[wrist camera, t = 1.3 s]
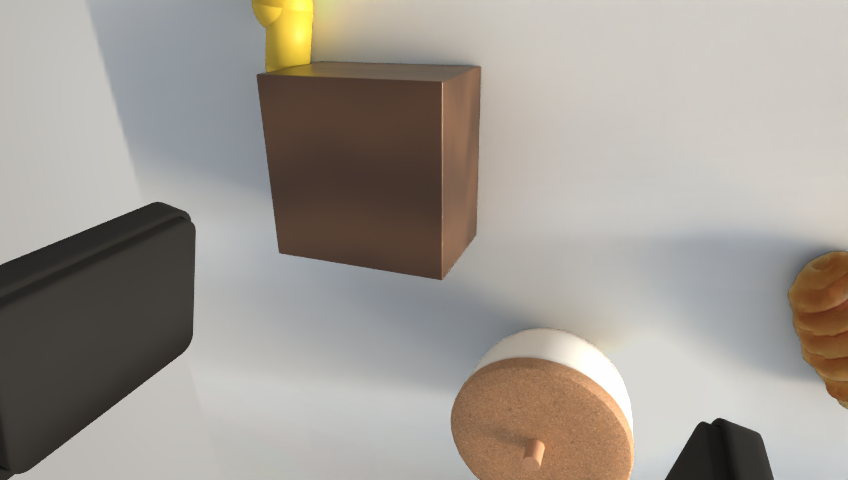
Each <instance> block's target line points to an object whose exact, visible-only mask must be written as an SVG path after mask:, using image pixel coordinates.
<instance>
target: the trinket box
mask: <svg viewBox="0 0 848 480" xmlns="http://www.w3.org/2000/svg"><path fill="white" fill-rule="evenodd" d="M451 430H452V435H453V438H454V442H455V444H456V447H457V449H458V452H459V454H460V455H461V457H462V459H463V460H464V462H465V463H466V465H467V466H468V467H469V469H470V470H471V471H472V472H473V474H474V475H475V476H476V477H477V478H479V479H480V480H628V479H629V477H630V474H631V471H632V468H633V457H634V443H633V422H632V414H631V407H630V401H629V398H628V394H627V391H626V388H625V385H624V382H623V380H622V378H621V376H620V375H619V373H618V371H617V369H616V368H615V366H614V365H613V364H612V362H611V361H610V360H609V359H608V357H607V356H606V355H605V354H604V353H603V352H602V351H601V350H599V349H598V348H597V347H595V346H594V345H593V344H591V343H590V342H588V341H587V340H585V339H583V338H581V337H579V336H577V335H575V334H572V333H570V332H566V331H562V330H558V329H550V328H535V329H529V330H524V331H520V332H517V333H515V334H512V335H510V336H508V337H506V338H505V339H503V340H501V341H500V342H498V343H497V344H496V345H494V346H493V347H492V348H491V349H490V350H489V351H488V352H487V353H486V354H485V355H484V356H483V357H482V358H481V359H480V361H479V362H478V363H477V365H476V366H475V368H474V369H473V371H472V373H471V374H470V376H469V378H468V380H467V381H466V382H465V383H464V384H463V386H462V388H461V390H460V391H459V393H458V395H457V397H456V399H455V402H454V405H453V408H452V413H451Z"/></svg>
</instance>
